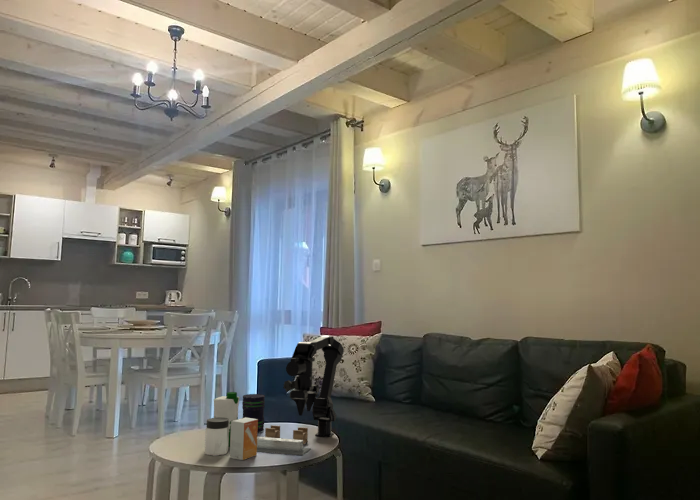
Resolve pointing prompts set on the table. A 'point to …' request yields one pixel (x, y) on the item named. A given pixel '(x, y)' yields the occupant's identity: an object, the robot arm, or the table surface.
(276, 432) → the post
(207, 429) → the jar
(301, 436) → the post
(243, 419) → the small box
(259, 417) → the storage jar
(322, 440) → the table surface
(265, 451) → the mat
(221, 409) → the milk carton
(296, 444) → the long white bar
